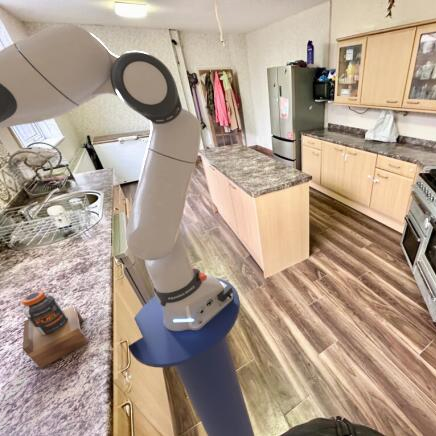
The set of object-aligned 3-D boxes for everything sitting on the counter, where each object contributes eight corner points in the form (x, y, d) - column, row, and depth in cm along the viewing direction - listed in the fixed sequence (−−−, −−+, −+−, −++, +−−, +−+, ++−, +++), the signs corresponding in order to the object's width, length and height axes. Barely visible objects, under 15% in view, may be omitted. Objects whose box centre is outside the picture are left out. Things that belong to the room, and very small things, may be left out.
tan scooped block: (83, 318, 74) (70, 300, 70) (88, 342, 66) (75, 323, 62) (40, 339, 68) (24, 321, 64) (40, 368, 60) (22, 349, 56)
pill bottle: (44, 339, 61) (18, 308, 56) (37, 329, 64) (12, 299, 59) (72, 322, 65) (50, 292, 60) (64, 314, 68) (43, 284, 63)
